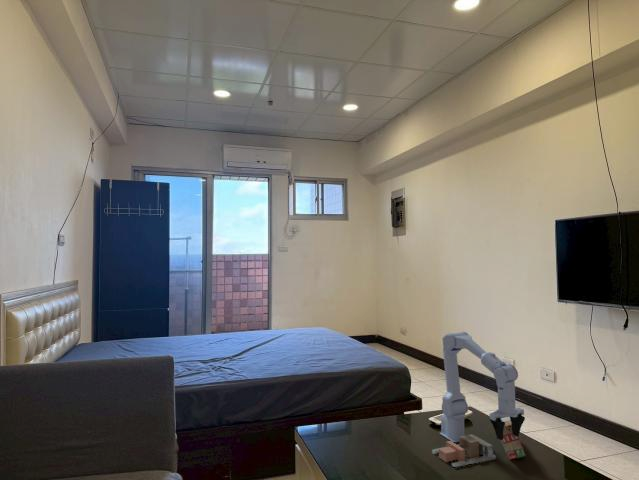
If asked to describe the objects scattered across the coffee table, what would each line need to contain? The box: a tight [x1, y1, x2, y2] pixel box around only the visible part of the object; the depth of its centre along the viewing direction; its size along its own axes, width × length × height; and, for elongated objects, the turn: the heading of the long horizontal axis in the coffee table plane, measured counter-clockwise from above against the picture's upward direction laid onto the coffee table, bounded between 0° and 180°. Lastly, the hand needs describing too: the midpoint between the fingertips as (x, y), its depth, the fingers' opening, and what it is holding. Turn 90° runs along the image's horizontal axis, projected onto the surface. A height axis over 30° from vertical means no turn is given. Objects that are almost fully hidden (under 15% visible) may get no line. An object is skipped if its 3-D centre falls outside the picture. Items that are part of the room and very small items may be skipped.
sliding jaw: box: [438, 440, 466, 463], centre depth 153 cm, size 8×7×4 cm
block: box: [458, 434, 480, 459], centre depth 156 cm, size 6×4×6 cm, turn 21°
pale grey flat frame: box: [431, 433, 497, 468], centre depth 155 cm, size 13×19×4 cm
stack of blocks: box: [499, 417, 526, 461], centre depth 162 cm, size 21×6×12 cm, turn 167°
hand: (507, 437), depth 148 cm, fingers open, 7 cm apart
